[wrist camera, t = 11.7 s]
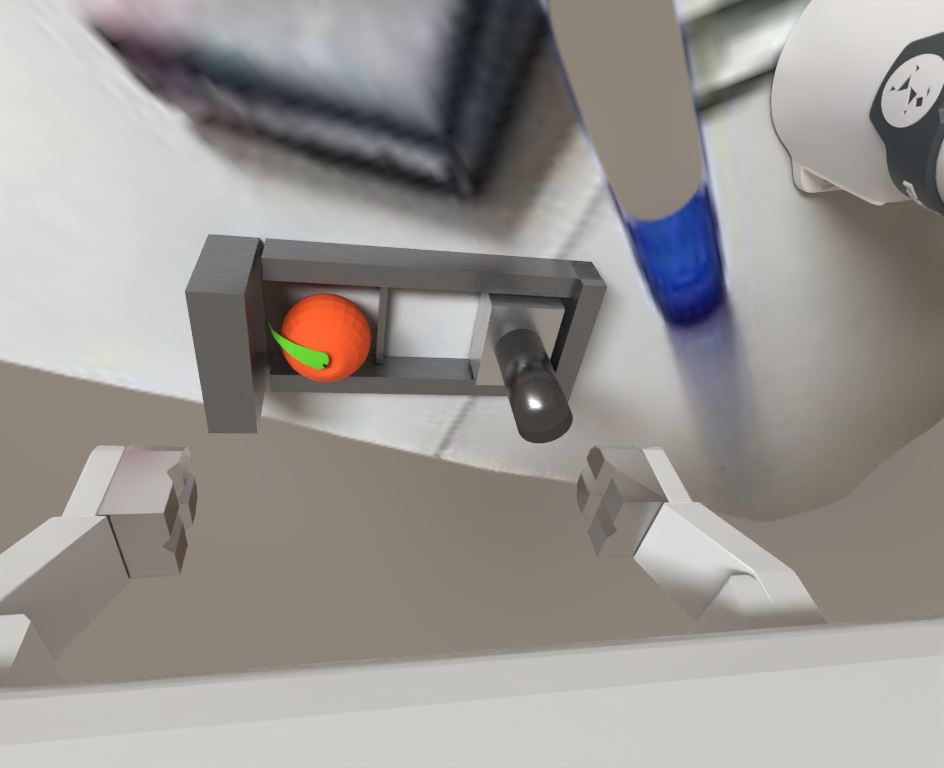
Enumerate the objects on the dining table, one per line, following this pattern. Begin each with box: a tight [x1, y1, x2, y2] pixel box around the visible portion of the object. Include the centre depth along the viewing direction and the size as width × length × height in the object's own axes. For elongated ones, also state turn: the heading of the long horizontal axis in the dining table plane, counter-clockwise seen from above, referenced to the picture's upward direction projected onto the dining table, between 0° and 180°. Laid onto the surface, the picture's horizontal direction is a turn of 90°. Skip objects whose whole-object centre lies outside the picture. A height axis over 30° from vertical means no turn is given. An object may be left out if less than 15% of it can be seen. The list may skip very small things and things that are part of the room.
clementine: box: [268, 293, 371, 382], centre depth 46 cm, size 8×7×7 cm
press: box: [185, 234, 607, 433], centre depth 47 cm, size 30×12×8 cm, turn 81°
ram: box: [469, 293, 573, 443], centre depth 47 cm, size 6×8×13 cm
